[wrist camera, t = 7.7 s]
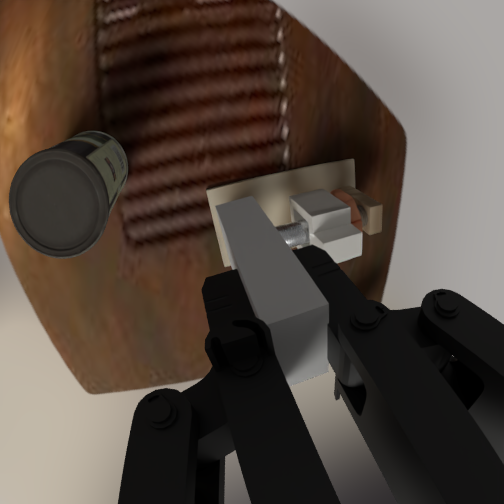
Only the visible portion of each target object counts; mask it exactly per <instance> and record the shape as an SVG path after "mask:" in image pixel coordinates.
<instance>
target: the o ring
mask: <svg viewBox="0 0 504 504" xmlns="http://www.w3.org/2000/svg"><path fill="white" fill-rule="evenodd" d="M330 194H332V195H333V196H335V197H336V198H338V199H339V200H341V201H342V202H344V203H345V204H347V205H348V206H350V207H351V224H352V225H354V226H355V227H356V228H357V229H359V230H360V231H361V232H362V221H361V219H362V218H361V215H360V213H359V210H358V208H357V206H356V203H355V201H354V199H353V198H352V196H350V195H349V194H347V193H345V192H344V191H342V190H341V189H334V190H332V191H331V192H330Z"/></svg>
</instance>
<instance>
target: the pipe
mask: <svg viewBox="0 0 504 504" xmlns="http://www.w3.org/2000/svg"><path fill="white" fill-rule="evenodd" d="M357 208H358V210H359V213H360V215H361V218H362V219H361V221H362V227H365V226H366V225H367V223H368V216H367V213H366V210H365V209H364V207H363V206H361V205H358V206H357ZM275 228H276V229H277V230H278V232H279V233H280V235H281V236H282V237H283V239H284V240H285V241H286V243H287V244H288V246H289V247H290V248H291V247H295V246H298V245H302V244H305V243H309V242H310V238H309V225H308V222H307V221H306V220H305V219H302V220H298V221H294V222H291V223H287V224H283V225H279V226H275Z"/></svg>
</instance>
